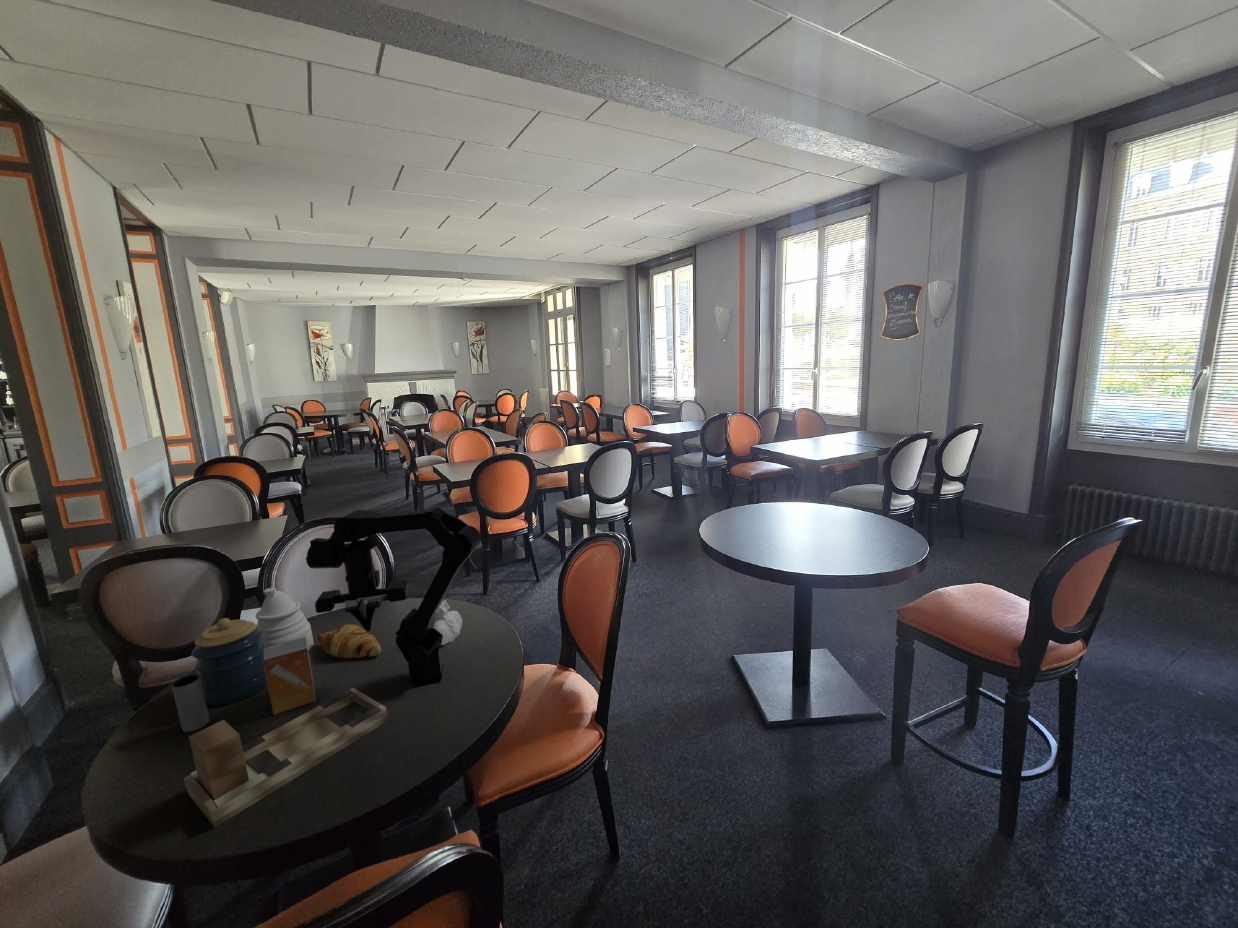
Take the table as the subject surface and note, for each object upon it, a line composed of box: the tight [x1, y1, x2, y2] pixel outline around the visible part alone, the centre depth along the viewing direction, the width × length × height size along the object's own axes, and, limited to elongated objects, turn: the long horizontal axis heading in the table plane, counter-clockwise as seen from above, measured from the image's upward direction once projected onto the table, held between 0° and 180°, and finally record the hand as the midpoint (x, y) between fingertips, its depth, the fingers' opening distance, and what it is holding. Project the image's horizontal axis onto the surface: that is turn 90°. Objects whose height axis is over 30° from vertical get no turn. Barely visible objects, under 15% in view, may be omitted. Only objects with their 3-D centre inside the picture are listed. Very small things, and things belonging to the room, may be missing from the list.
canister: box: [191, 617, 268, 706], centre depth 120 cm, size 13×13×18 cm
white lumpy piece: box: [434, 599, 463, 646], centre depth 140 cm, size 12×8×11 cm
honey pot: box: [255, 587, 315, 651], centre depth 137 cm, size 13×13×18 cm
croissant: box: [317, 623, 382, 659], centre depth 136 cm, size 21×10×8 cm, turn 70°
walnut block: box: [188, 719, 249, 801], centre depth 89 cm, size 5×7×10 cm
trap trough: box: [183, 687, 389, 829], centre depth 99 cm, size 30×13×3 cm, turn 145°
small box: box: [264, 637, 317, 716], centre depth 115 cm, size 8×6×13 cm
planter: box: [171, 674, 210, 733], centre depth 109 cm, size 4×4×10 cm
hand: (368, 630), depth 121 cm, fingers closed
